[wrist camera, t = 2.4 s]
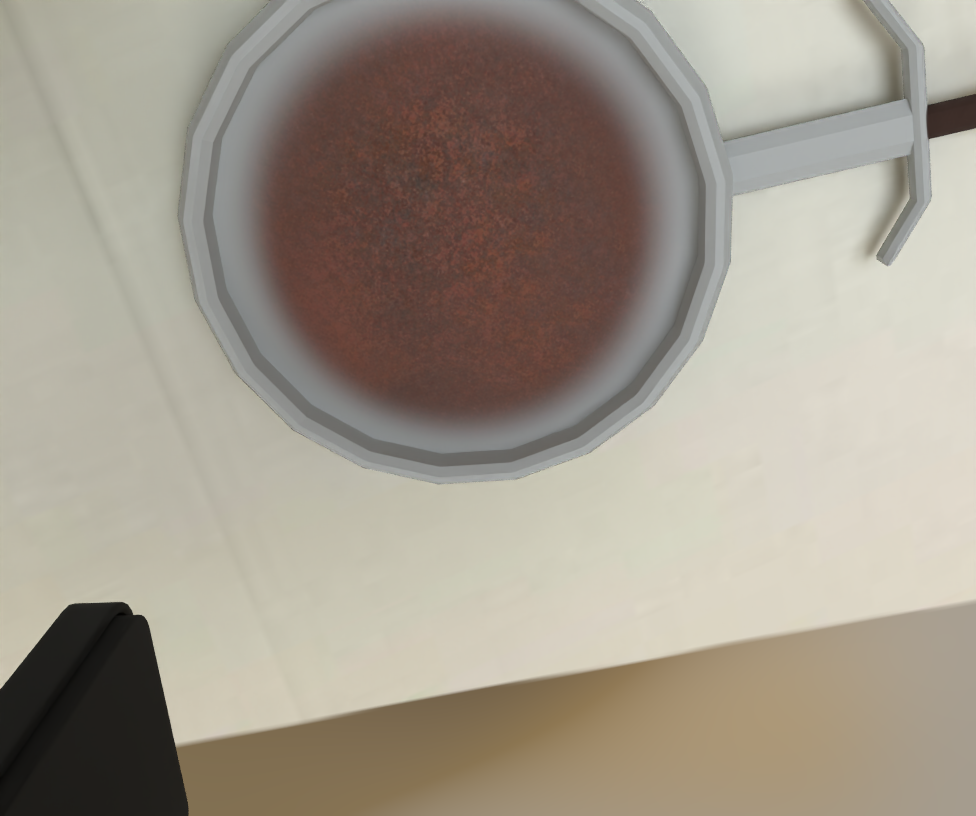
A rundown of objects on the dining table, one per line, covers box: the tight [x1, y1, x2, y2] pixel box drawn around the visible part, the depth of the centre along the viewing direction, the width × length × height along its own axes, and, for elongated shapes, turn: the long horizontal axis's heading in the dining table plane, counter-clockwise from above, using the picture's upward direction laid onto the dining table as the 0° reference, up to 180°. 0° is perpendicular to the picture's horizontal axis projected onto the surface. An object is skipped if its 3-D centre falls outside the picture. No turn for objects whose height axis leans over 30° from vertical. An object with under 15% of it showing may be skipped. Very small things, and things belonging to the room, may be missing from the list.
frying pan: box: [178, 0, 976, 484], centre depth 29 cm, size 17×3×28 cm
